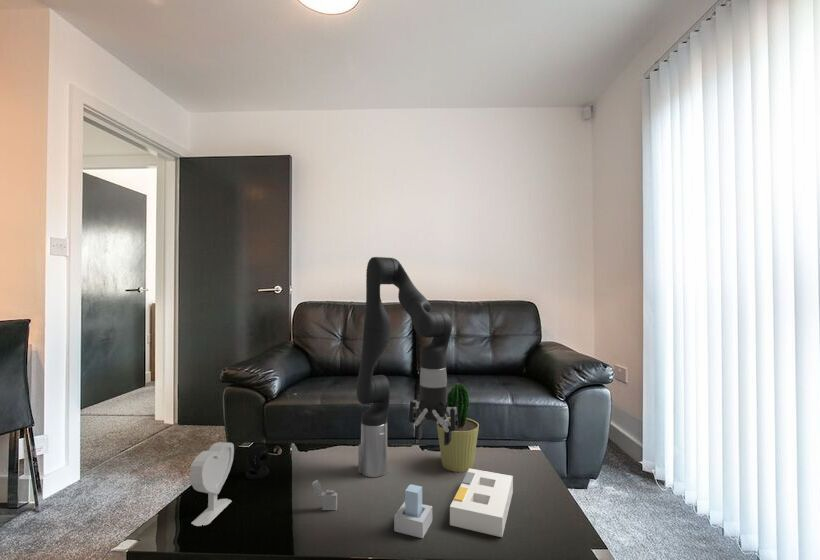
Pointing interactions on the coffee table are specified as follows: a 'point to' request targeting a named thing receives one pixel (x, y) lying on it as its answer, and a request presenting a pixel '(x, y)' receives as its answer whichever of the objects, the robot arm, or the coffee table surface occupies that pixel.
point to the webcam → (257, 462)
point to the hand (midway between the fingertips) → (432, 441)
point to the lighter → (326, 497)
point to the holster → (413, 522)
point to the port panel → (482, 502)
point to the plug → (413, 501)
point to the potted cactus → (459, 434)
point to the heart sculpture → (212, 478)
